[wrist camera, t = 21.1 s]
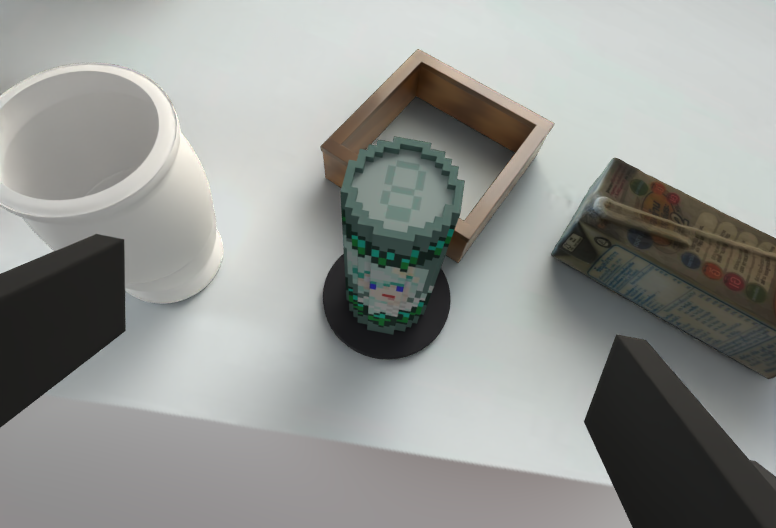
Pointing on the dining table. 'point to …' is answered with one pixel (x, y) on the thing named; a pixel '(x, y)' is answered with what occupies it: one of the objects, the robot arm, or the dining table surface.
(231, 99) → the dining table surface
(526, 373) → the dining table surface
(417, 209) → the can
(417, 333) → the coaster
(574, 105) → the dining table surface
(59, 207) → the jar
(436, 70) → the wooden square frame
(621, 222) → the beverage carton
